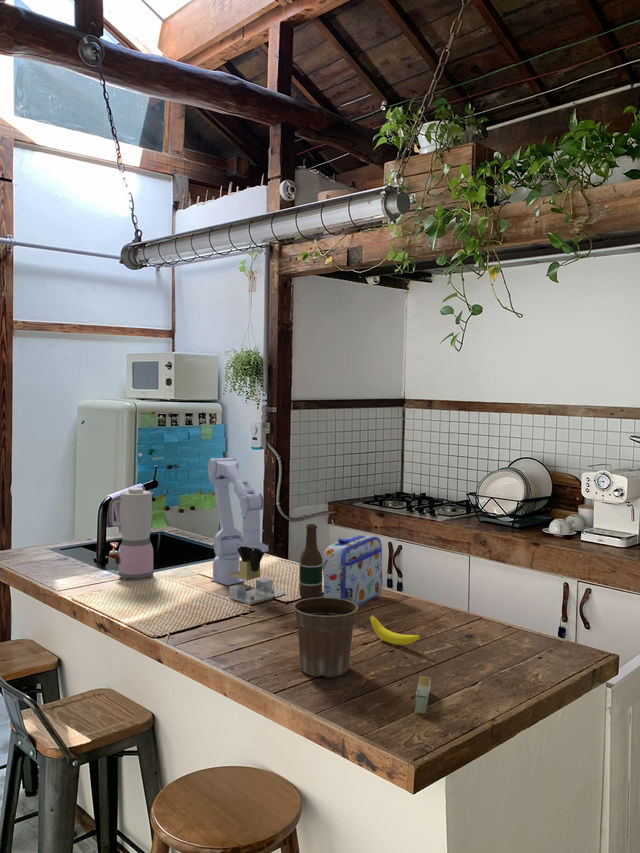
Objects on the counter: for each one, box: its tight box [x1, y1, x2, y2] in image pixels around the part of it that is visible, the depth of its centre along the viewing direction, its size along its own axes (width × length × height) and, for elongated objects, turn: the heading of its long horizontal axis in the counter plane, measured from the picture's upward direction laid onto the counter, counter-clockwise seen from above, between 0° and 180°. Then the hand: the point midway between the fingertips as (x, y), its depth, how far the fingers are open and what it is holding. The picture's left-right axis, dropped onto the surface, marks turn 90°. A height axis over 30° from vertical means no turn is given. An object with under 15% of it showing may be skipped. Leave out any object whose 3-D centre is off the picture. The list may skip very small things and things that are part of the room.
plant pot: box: [292, 596, 359, 678], centre depth 186 cm, size 16×16×16 cm
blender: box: [108, 487, 155, 582], centre depth 267 cm, size 16×12×32 cm
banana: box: [368, 613, 421, 646], centre depth 205 cm, size 3×19×6 cm, turn 40°
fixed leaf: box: [228, 577, 286, 606], centre depth 247 cm, size 10×16×4 cm, turn 138°
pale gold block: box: [228, 558, 261, 581], centre depth 250 cm, size 10×6×6 cm, turn 47°
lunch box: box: [322, 535, 383, 607], centre depth 241 cm, size 28×10×22 cm, turn 149°
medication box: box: [413, 675, 432, 714], centre depth 169 cm, size 12×3×4 cm, turn 168°
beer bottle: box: [298, 523, 323, 599], centre depth 248 cm, size 8×8×24 cm
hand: (251, 569), depth 249 cm, fingers closed on pale gold block, 3 cm apart
